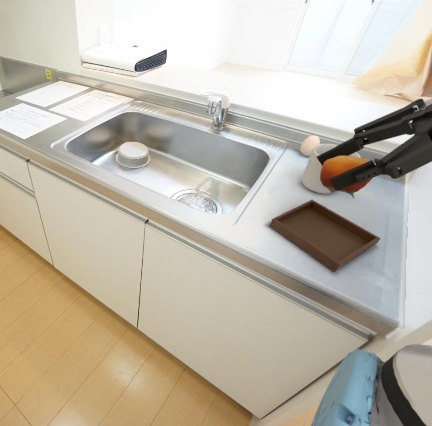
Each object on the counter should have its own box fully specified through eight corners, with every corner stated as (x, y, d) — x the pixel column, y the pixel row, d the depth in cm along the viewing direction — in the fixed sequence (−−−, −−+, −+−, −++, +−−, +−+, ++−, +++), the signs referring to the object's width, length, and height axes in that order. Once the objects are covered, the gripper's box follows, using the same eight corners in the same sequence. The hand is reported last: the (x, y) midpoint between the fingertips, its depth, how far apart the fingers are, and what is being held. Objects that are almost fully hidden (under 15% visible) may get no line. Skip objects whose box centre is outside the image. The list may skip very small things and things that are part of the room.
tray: (374, 246, 60) (381, 238, 58) (333, 272, 55) (339, 264, 54) (307, 206, 70) (311, 199, 69) (268, 226, 65) (272, 218, 64)
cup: (359, 189, 75) (382, 155, 68) (353, 209, 69) (378, 173, 62) (302, 172, 82) (318, 139, 75) (292, 188, 76) (308, 154, 69)
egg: (294, 151, 91) (302, 132, 86) (309, 151, 91) (318, 132, 86) (301, 159, 87) (311, 139, 83) (317, 159, 87) (327, 139, 83)
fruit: (325, 195, 52) (337, 152, 51) (308, 191, 60) (318, 154, 58) (376, 202, 50) (391, 157, 49) (352, 198, 58) (364, 159, 56)
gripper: (571, 143, 35) (353, 219, 49) (463, 90, 50) (319, 160, 64) (559, 96, 32) (333, 190, 46) (449, 55, 47) (303, 136, 61)
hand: (325, 172), depth 55 cm, fingers closed on fruit, 8 cm apart
